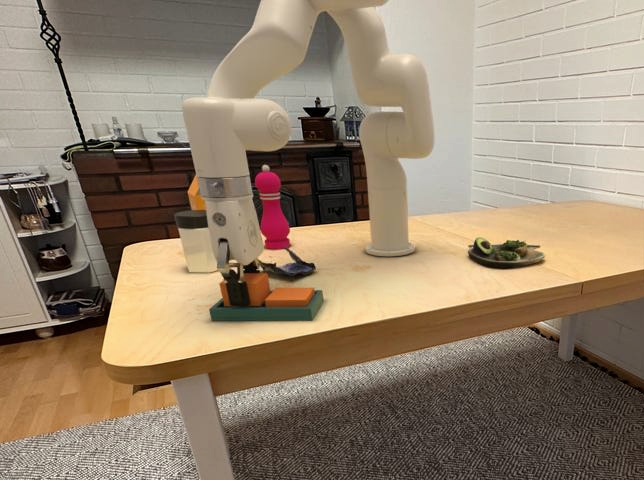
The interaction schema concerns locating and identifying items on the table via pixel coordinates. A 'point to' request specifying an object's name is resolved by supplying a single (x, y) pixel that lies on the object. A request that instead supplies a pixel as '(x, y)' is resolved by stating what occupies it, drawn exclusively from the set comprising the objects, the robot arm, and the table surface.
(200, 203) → the orange juice
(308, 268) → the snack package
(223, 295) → the orange block
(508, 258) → the salad plate
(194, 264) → the jar
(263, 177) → the pepper mill
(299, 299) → the fitted pad
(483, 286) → the table surface
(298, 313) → the tray
